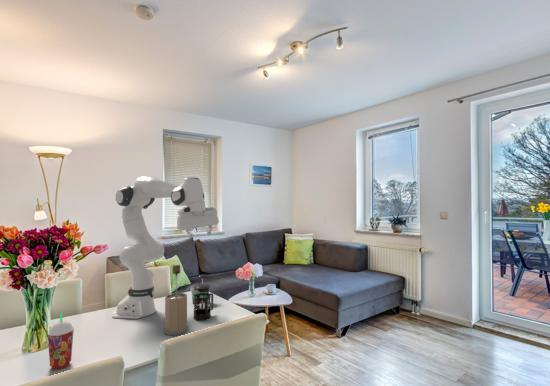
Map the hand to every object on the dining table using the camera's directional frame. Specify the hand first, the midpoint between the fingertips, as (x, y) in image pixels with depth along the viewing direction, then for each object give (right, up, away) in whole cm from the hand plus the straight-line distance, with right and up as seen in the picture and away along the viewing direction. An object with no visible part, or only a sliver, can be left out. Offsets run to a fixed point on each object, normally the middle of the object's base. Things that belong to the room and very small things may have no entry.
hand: (200, 236), depth 150 cm
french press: (-3, -47, +17) cm, 50 cm away
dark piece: (-10, -47, +38) cm, 61 cm away
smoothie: (-47, -46, -32) cm, 73 cm away
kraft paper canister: (-12, -46, +1) cm, 48 cm away
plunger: (-12, -31, 0) cm, 33 cm away
